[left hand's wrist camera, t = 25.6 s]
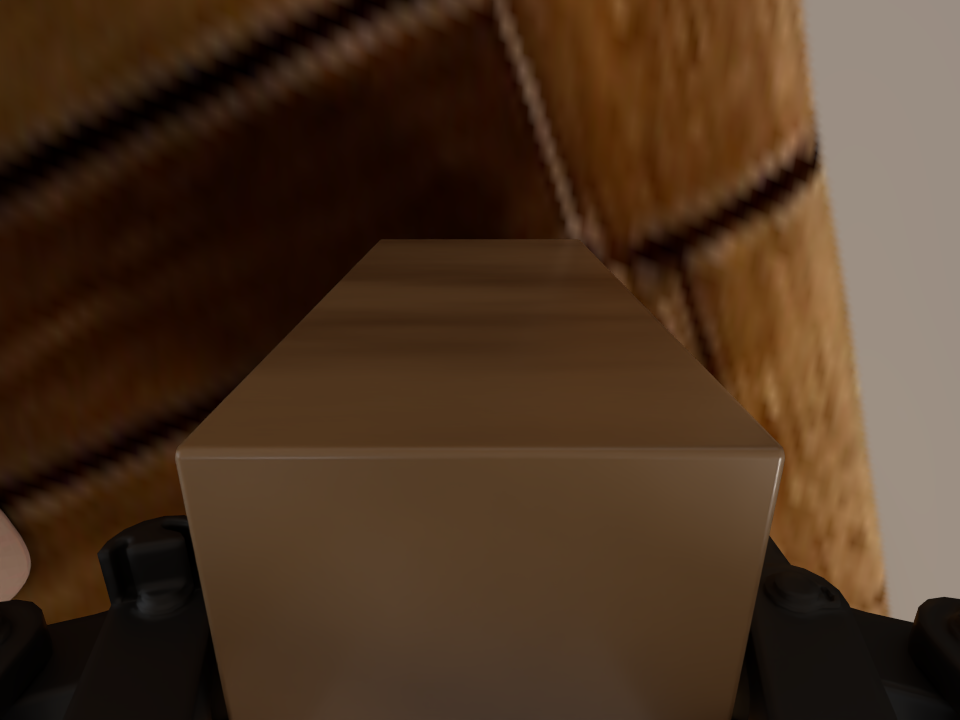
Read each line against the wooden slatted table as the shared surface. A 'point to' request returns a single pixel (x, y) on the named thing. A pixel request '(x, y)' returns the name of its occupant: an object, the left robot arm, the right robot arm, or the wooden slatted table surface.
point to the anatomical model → (12, 560)
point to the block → (479, 501)
